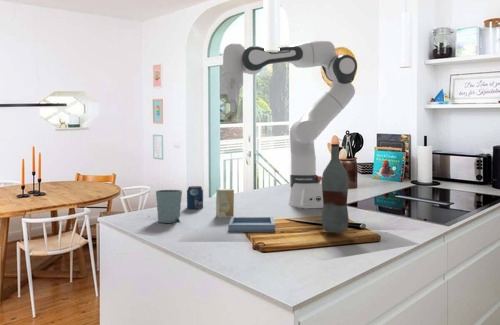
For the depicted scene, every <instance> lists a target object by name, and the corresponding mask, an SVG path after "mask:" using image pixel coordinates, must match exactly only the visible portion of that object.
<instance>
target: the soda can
mask: <svg viewBox="0 0 500 325" xmlns="http://www.w3.org/2000/svg"><path fill="white" fill-rule="evenodd" d="M186 199H187V200H186V209H187V210H193V211H195V210H196V211H197V210H202V209H204V190H203V187H202V186H199V185H195V186H194V185H191V186H188V187H187V190H186Z"/></svg>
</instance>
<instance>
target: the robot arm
mask: <svg viewBox="0 0 500 325" xmlns="http://www.w3.org/2000/svg"><path fill="white" fill-rule="evenodd" d="M279 48H280V51H278V52H265V51H264V47H261V46H257V45H252V46H249V47H245V46H243V45H242V44H241V43H238V42H235V43H230V44H227V45H226V46H225V47H224V49H223V55H222V66H223V73H222V81H223V82H222V84H223V86H225V89H226V90H227V95H226V96H227V101H228V102H229V107H230V109H229V110H230V112H231V113H232V114H233V115H234V114H235V115H236V113H237V105H239V102H240V93H241V92H240V91H241V88H242V86H244V74H248V75H257V74H258V73H259V74H260V72H262V70H263V68H264V67H266V66H268V65H273V64H282V63H289V64H292V65H293V66H294V67H295V68H300V69H301V68H306V69H307V68H315V67H321V68H322V70H323V73H324V76H325V77H326V78H327V80H328V81H330V82H332V84H331V86H330V87H329V89H327V90H326V91H325V92H324V93H323V94H322V95H321V96H320V97H319V98H318V99H317V101H315V102H314V104H312V105H311V107H310V108H309V109H308V110H307V111H306V112H305V113H304V114H303V116H301V117H300V118H299V120H298V121H296V122H293V124H292V126H291V127H290V130H289V142H290V143H289V144H290V159H291V160H290V164H291V166H290V170H291V171H290V175H289V176H290V177H289V186H290V192H289V199H288V203H287V205H288V206H290V207H293V208H300V209H323V193H322V183H321V182H322V175H321V176H320V175H317V174H316V173H317V169H316V168H317V164H316V163H317V162H316V160H317V159H316V149H315V140H316V139H317V138H318V137H319V136H320V135H321V134H322V133H323V132H324V130H325V129H326V128H327V127H328V125H329V124H330V123H331V122H332V121H333V120H334V119H335V118H336V117H337V116H338V115H339V114H340V113H341V112H342V111H343V110H344V109H345V108H346V106H348V104H349V103H350V102H351V101H352V99H353V98H354V95H355V93H356V89H355V86H354V85H353V83H352V82H353V81H354V79H355V76H356V73H357V70H358V62H357V60H356V58H355V57H354V56H352V55H350V54H344V53H343V54H340V55H338V54H337V51H336V47H335V45H334V43H333V42H332V41H329V40H313V41H306V42H301V43H297V44H294V45H290V46H282V47H279Z"/></svg>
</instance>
